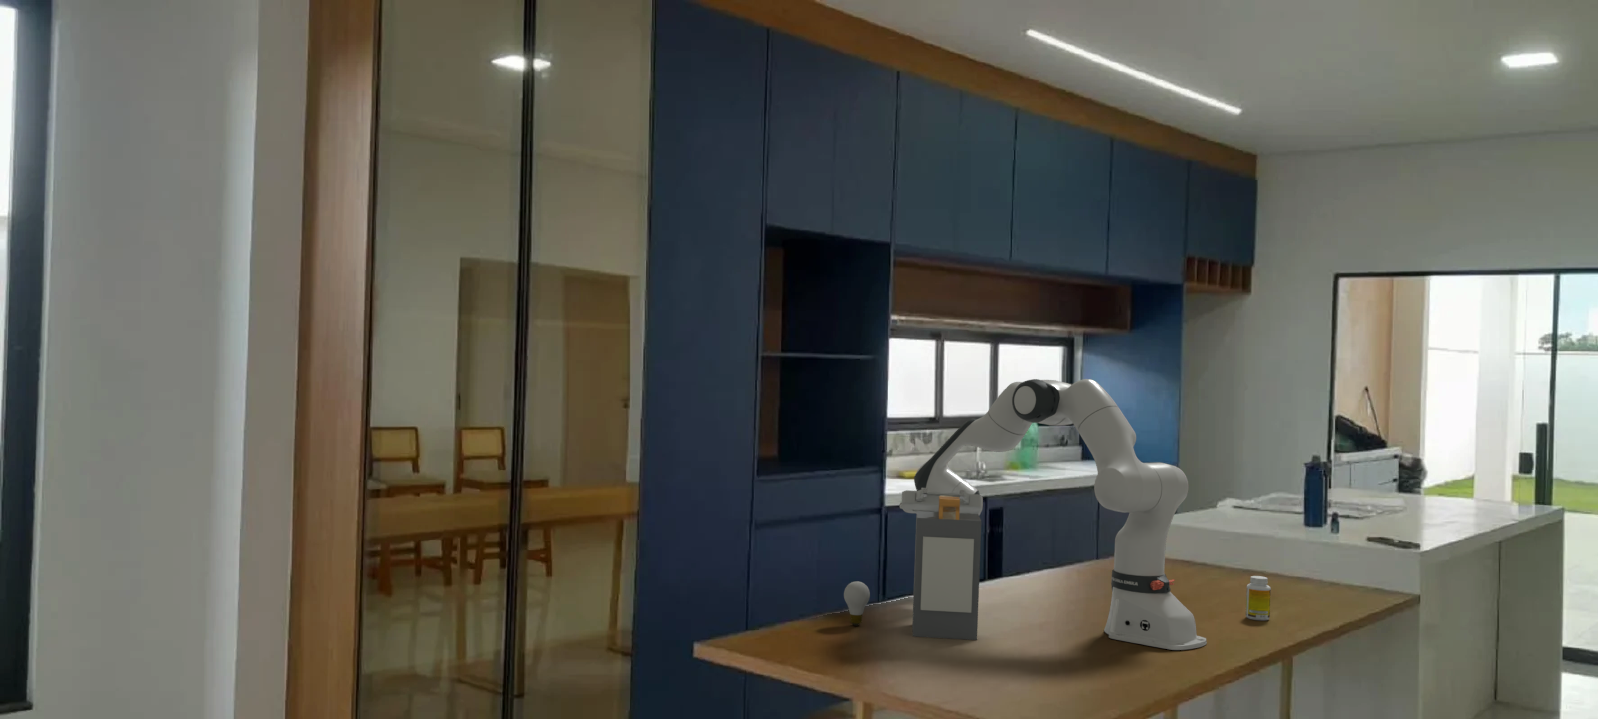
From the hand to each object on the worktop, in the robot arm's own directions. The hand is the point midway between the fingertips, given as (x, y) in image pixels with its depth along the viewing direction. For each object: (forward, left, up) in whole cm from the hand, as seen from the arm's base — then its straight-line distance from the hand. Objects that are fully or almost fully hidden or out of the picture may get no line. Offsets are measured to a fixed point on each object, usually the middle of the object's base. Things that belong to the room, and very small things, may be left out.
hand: (943, 491), depth 294 cm
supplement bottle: (-50, -61, -29) cm, 84 cm away
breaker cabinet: (-19, +18, -29) cm, 38 cm away
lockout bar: (-15, +15, -3) cm, 21 cm away
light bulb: (-4, +31, -29) cm, 42 cm away
